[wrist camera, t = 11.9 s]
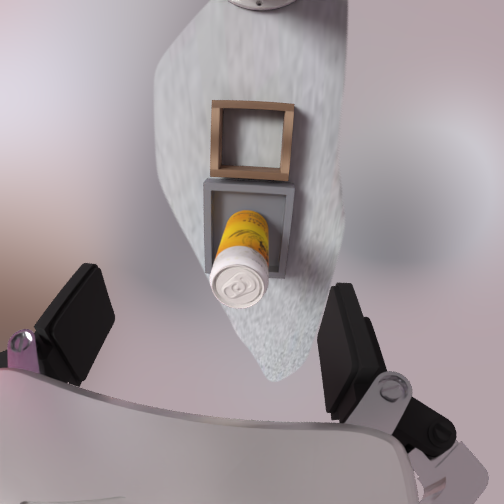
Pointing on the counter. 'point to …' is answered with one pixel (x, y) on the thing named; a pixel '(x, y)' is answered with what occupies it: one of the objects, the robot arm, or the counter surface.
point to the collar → (249, 171)
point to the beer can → (242, 261)
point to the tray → (255, 199)
